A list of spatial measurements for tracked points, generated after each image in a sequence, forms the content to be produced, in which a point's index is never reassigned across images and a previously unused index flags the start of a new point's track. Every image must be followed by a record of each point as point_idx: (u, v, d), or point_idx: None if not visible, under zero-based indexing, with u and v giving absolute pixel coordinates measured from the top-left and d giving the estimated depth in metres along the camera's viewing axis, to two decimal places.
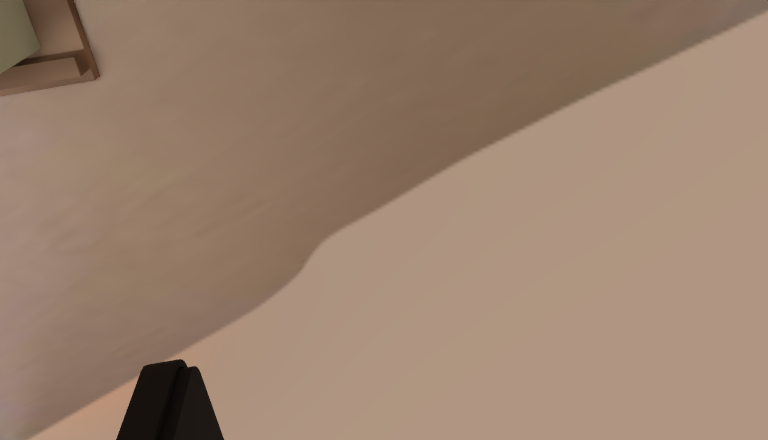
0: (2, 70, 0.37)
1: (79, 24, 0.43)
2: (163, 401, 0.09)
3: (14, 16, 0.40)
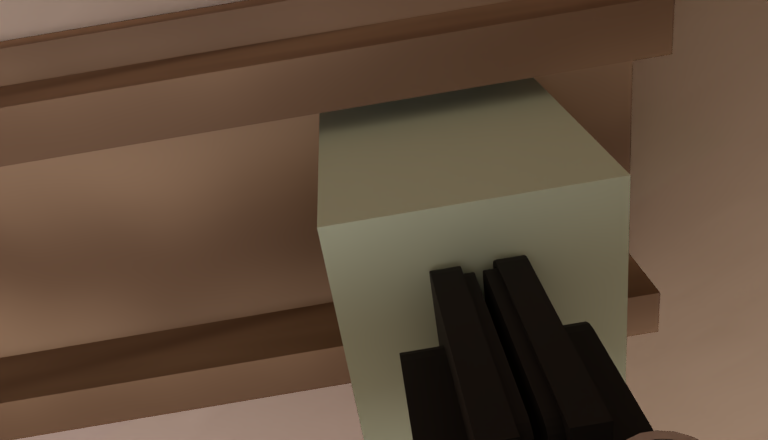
0: None
1: None
2: (467, 296, 0.10)
3: None
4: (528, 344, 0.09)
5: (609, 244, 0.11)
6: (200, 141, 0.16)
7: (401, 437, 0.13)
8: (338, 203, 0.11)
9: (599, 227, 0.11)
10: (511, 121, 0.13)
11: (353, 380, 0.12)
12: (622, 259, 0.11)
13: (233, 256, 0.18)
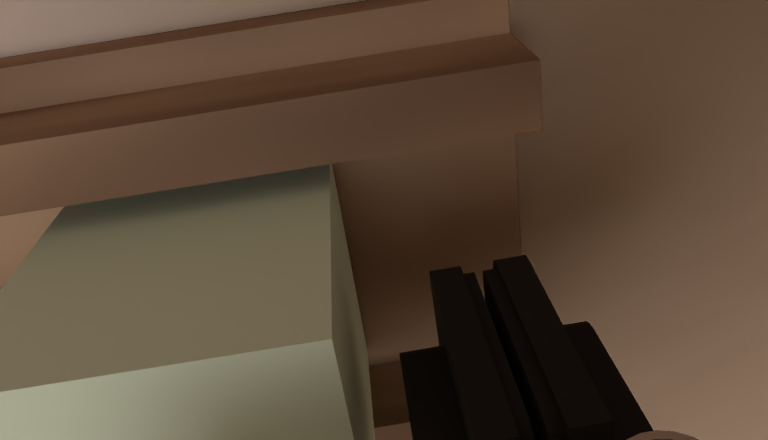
0: None
1: None
2: (466, 296, 0.10)
3: (354, 316, 0.13)
4: (528, 344, 0.09)
5: (323, 419, 0.09)
6: None
7: None
8: None
9: (304, 400, 0.08)
10: (258, 229, 0.11)
11: None
12: (343, 436, 0.09)
13: None
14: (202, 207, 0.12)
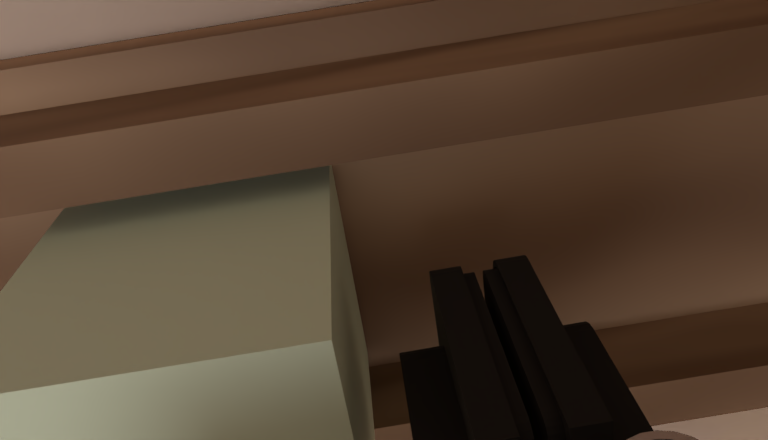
0: None
1: None
2: (467, 296, 0.10)
3: (354, 317, 0.13)
4: (528, 344, 0.09)
5: (323, 420, 0.09)
6: (429, 150, 0.14)
7: None
8: None
9: (304, 401, 0.08)
10: (258, 231, 0.11)
11: None
12: (343, 437, 0.09)
13: None
14: (202, 208, 0.12)
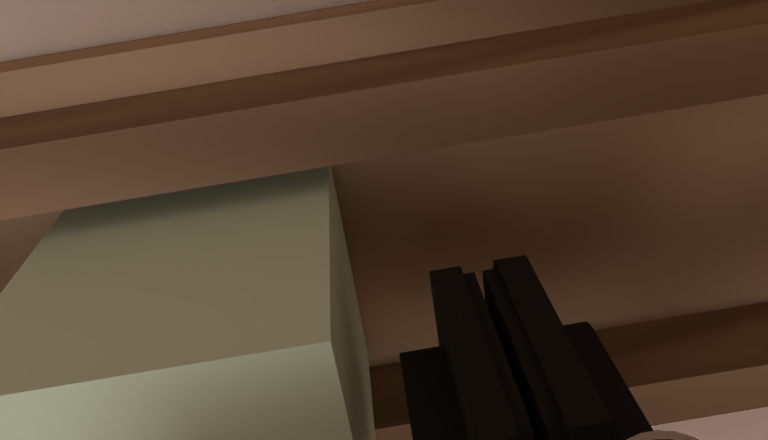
0: None
1: None
2: (466, 296, 0.10)
3: (354, 318, 0.13)
4: (528, 344, 0.09)
5: (322, 421, 0.09)
6: None
7: None
8: None
9: (303, 402, 0.08)
10: (257, 232, 0.11)
11: None
12: (343, 438, 0.09)
13: (751, 234, 0.15)
14: (201, 210, 0.12)
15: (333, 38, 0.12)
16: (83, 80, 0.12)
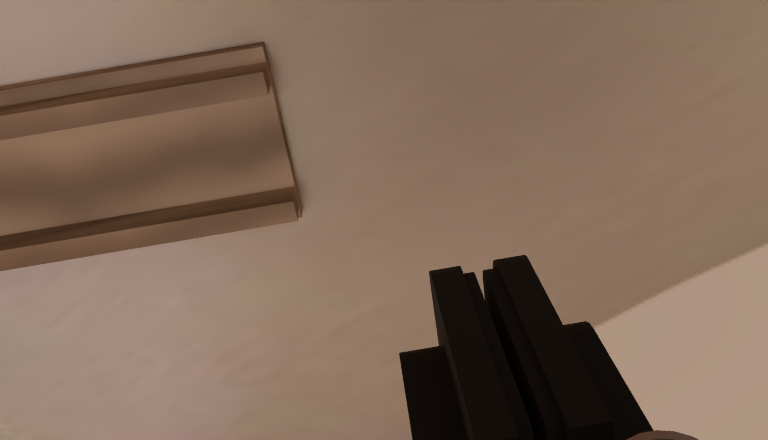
0: None
1: (290, 158, 0.39)
2: (466, 296, 0.10)
3: None
4: (528, 344, 0.09)
5: None
6: (80, 132, 0.36)
7: None
8: None
9: None
10: None
11: None
12: None
13: (100, 186, 0.38)
14: None
15: None
16: None
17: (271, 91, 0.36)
